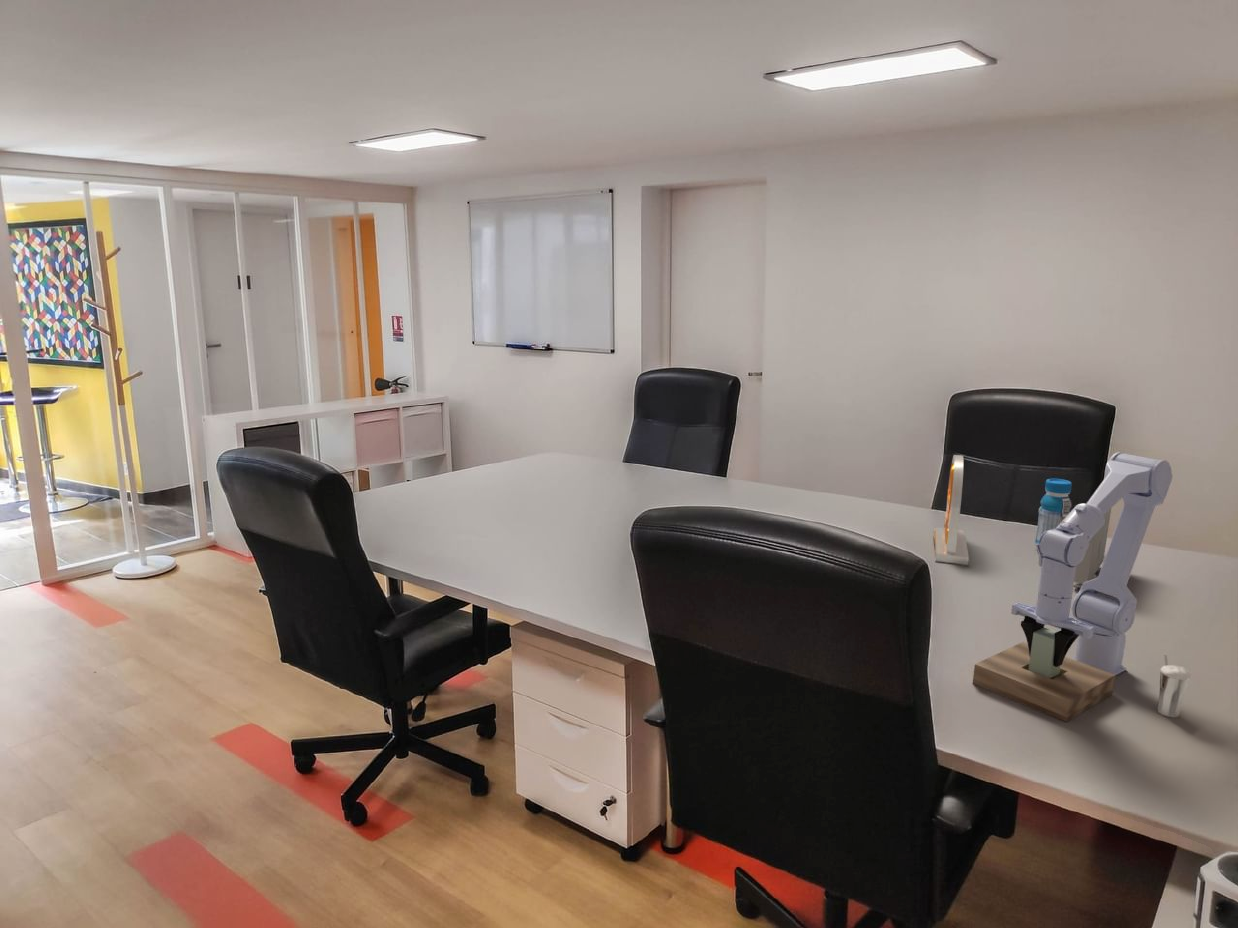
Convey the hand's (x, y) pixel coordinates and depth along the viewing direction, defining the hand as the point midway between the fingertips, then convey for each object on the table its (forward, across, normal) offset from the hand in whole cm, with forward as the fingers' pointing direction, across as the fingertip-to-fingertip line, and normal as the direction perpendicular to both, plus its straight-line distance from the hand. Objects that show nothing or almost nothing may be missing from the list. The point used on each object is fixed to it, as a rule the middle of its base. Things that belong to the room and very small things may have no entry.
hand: (1045, 660), depth 162 cm
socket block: (+6, 0, 0) cm, 6 cm away
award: (+6, -60, +64) cm, 88 cm away
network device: (+6, -25, +72) cm, 76 cm away
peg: (+2, 0, 0) cm, 2 cm away
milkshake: (+6, +18, +10) cm, 21 cm away
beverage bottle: (+6, -44, +91) cm, 101 cm away
